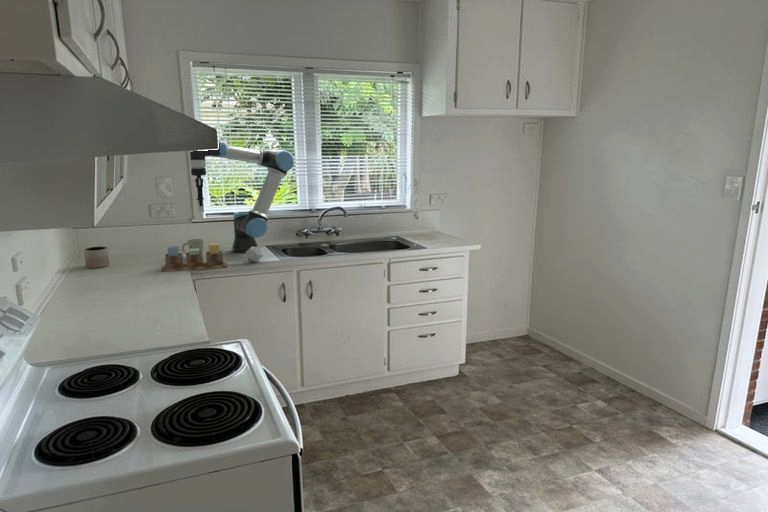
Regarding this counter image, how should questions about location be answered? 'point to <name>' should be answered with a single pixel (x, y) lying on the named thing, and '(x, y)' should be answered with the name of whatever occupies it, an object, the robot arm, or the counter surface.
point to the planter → (96, 257)
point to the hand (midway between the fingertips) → (201, 211)
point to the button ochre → (213, 248)
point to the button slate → (173, 250)
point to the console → (193, 262)
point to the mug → (194, 244)
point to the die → (254, 254)
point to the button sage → (194, 251)
